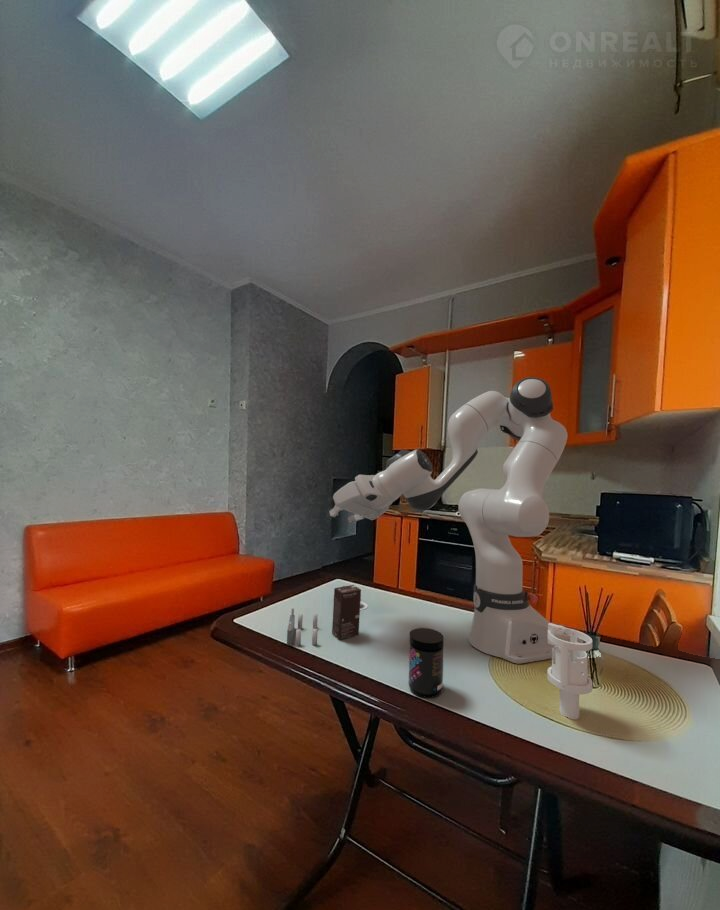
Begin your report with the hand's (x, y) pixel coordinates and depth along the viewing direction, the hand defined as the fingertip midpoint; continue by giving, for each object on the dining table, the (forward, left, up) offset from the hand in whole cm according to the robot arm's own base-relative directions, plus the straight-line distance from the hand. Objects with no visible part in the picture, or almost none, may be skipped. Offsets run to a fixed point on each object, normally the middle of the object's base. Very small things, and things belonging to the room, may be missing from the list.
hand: (340, 517), depth 104 cm
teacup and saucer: (-8, -14, -30) cm, 34 cm away
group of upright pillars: (+9, +9, -29) cm, 32 cm away
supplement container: (-16, +33, -29) cm, 47 cm away
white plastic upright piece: (-40, +42, -29) cm, 65 cm away
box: (-2, +9, -29) cm, 31 cm away
